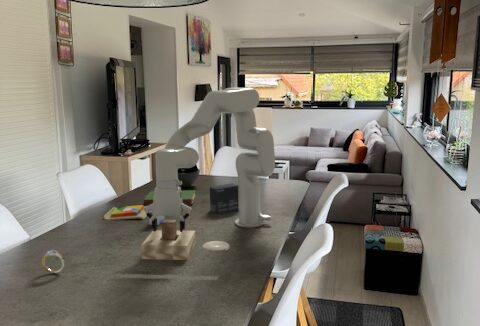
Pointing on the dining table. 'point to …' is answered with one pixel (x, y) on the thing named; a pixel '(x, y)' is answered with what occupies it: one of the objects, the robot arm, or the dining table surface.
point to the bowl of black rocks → (188, 175)
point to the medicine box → (159, 218)
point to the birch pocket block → (168, 246)
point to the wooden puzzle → (126, 213)
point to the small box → (224, 198)
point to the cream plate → (216, 246)
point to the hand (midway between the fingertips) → (168, 230)
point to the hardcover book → (186, 197)
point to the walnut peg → (169, 230)
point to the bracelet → (53, 252)
